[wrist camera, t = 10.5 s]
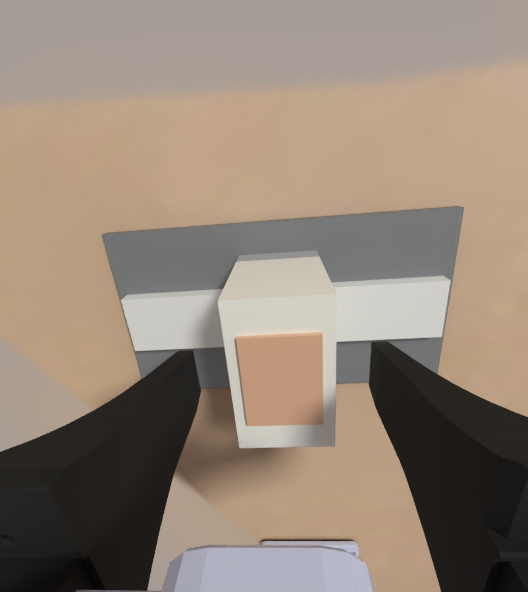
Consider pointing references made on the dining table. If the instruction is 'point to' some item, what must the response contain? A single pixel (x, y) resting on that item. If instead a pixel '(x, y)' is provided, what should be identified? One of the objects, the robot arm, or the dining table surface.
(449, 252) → the din rail
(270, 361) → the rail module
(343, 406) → the dining table surface
